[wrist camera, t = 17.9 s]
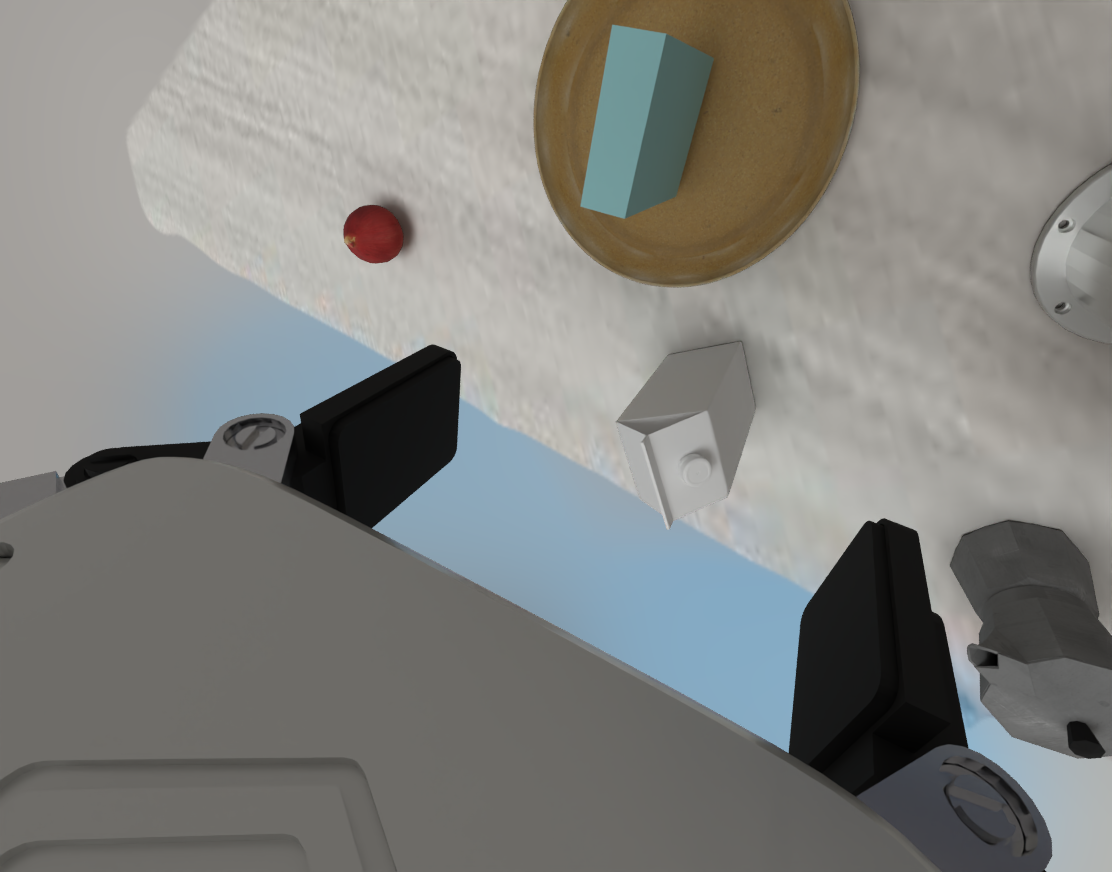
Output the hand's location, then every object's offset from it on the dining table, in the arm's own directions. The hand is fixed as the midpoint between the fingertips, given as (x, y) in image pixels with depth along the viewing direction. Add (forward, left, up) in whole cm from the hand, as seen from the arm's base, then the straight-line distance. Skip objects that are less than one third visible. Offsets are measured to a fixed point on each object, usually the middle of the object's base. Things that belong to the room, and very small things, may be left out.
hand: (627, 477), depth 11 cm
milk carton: (+1, +15, -38) cm, 41 cm away
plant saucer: (+10, -5, -39) cm, 40 cm away
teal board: (+10, -5, -35) cm, 37 cm away
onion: (+39, +10, -38) cm, 56 cm away
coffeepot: (-30, +22, -38) cm, 54 cm away
